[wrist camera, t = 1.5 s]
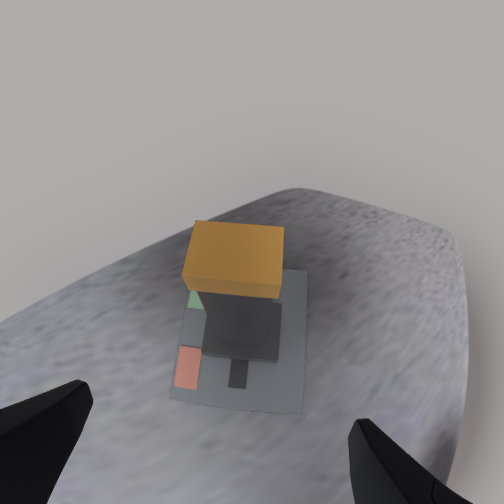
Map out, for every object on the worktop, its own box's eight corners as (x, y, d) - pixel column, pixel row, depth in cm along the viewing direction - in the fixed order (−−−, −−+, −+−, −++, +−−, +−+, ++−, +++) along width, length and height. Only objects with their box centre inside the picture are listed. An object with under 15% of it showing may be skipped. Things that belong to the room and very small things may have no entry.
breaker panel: (297, 413, 18) (302, 413, 16) (176, 400, 18) (169, 398, 17) (303, 281, 24) (307, 270, 22) (199, 272, 24) (195, 260, 22)
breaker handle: (276, 362, 18) (304, 309, 9) (203, 355, 18) (154, 294, 9) (280, 308, 20) (304, 212, 11) (211, 302, 20) (181, 204, 11)
